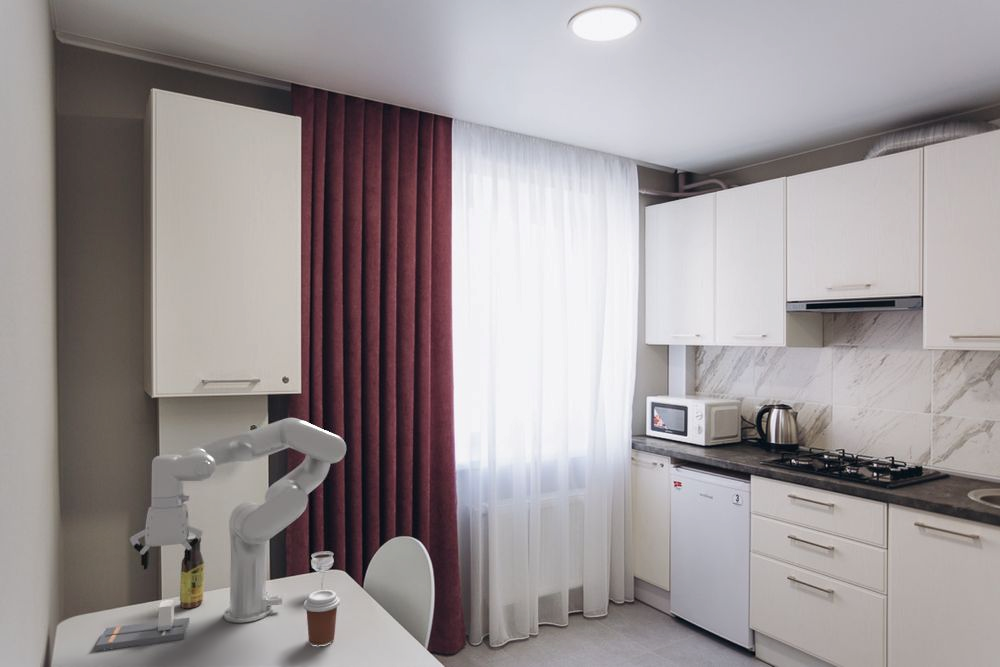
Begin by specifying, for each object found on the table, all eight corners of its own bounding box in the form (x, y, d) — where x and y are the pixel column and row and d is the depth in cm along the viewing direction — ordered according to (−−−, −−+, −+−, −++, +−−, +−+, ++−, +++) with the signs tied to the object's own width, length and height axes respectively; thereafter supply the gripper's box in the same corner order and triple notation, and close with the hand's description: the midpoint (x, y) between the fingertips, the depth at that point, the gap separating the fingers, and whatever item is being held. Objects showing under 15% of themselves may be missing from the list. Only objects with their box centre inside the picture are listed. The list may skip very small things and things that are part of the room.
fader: (174, 621, 168) (174, 599, 168) (170, 629, 163) (171, 606, 163) (161, 622, 167) (161, 600, 167) (158, 630, 162) (158, 607, 162)
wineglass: (306, 597, 189) (307, 557, 189) (316, 588, 196) (317, 550, 196) (327, 598, 188) (327, 559, 188) (337, 590, 195) (337, 551, 195)
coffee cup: (301, 636, 164) (302, 591, 164) (336, 630, 167) (337, 586, 167) (305, 652, 155) (305, 604, 155) (342, 645, 159) (342, 598, 159)
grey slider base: (189, 622, 172) (189, 617, 172) (184, 639, 162) (184, 632, 162) (106, 633, 165) (106, 627, 165) (95, 651, 155) (95, 644, 155)
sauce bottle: (193, 610, 180) (194, 541, 180) (174, 608, 181) (175, 540, 181) (208, 601, 186) (209, 534, 186) (190, 599, 187) (191, 533, 188)
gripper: (204, 495, 172) (203, 557, 172) (133, 500, 166) (133, 564, 166) (201, 502, 165) (200, 566, 165) (127, 507, 159) (126, 574, 159)
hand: (166, 565), depth 165 cm, fingers open, 9 cm apart
